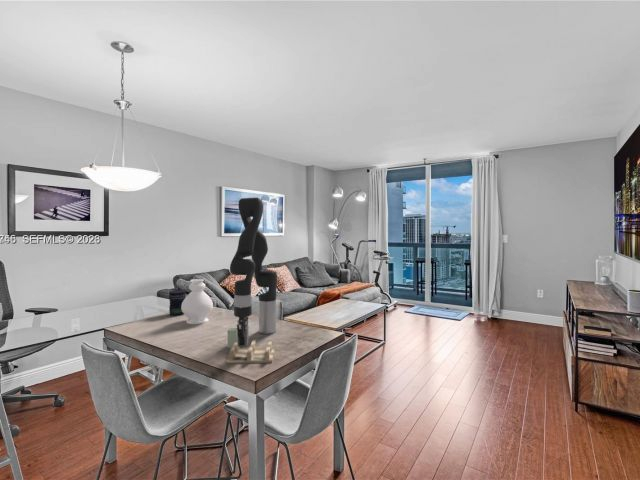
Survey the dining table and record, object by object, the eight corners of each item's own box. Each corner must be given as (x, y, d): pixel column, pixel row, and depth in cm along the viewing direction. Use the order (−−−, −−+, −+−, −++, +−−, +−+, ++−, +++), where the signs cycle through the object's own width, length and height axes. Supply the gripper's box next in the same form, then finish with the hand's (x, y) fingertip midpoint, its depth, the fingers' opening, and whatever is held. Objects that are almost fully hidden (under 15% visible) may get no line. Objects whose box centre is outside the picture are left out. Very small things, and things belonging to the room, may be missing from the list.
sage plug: (229, 344, 162) (229, 328, 162) (237, 344, 162) (237, 328, 162) (227, 347, 158) (227, 330, 158) (236, 347, 158) (236, 330, 158)
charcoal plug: (239, 343, 149) (239, 326, 149) (248, 343, 149) (248, 325, 149) (237, 347, 145) (237, 328, 145) (246, 347, 145) (246, 328, 145)
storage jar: (187, 314, 216) (186, 291, 216) (170, 316, 211) (170, 293, 210) (184, 311, 225) (183, 289, 224) (168, 313, 219) (167, 290, 219)
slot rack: (233, 350, 155) (233, 340, 155) (275, 349, 156) (275, 339, 155) (225, 363, 140) (225, 352, 140) (271, 362, 141) (271, 352, 140)
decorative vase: (188, 317, 211) (188, 277, 210) (216, 317, 211) (216, 277, 210) (176, 325, 193) (175, 282, 192) (207, 325, 193) (207, 282, 192)
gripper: (237, 301, 154) (237, 338, 154) (230, 308, 139) (230, 349, 140) (254, 301, 154) (253, 338, 154) (248, 308, 140) (248, 349, 140)
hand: (242, 343), depth 147 cm, fingers closed on charcoal plug, 4 cm apart
